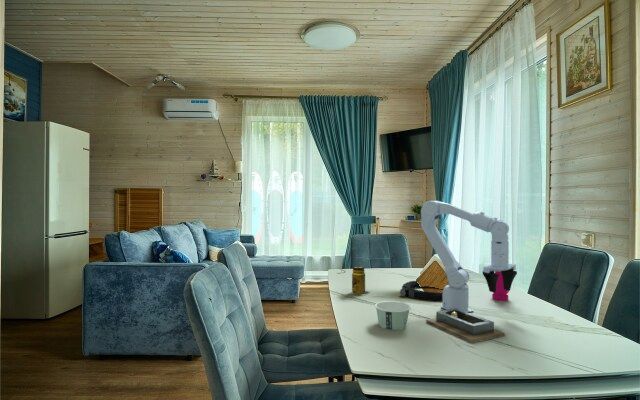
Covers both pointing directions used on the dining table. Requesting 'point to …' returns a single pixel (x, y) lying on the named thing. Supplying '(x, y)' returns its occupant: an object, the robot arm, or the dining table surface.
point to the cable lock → (419, 292)
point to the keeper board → (463, 334)
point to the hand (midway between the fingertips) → (499, 290)
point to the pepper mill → (500, 289)
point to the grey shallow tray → (465, 322)
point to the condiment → (358, 281)
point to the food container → (392, 314)
